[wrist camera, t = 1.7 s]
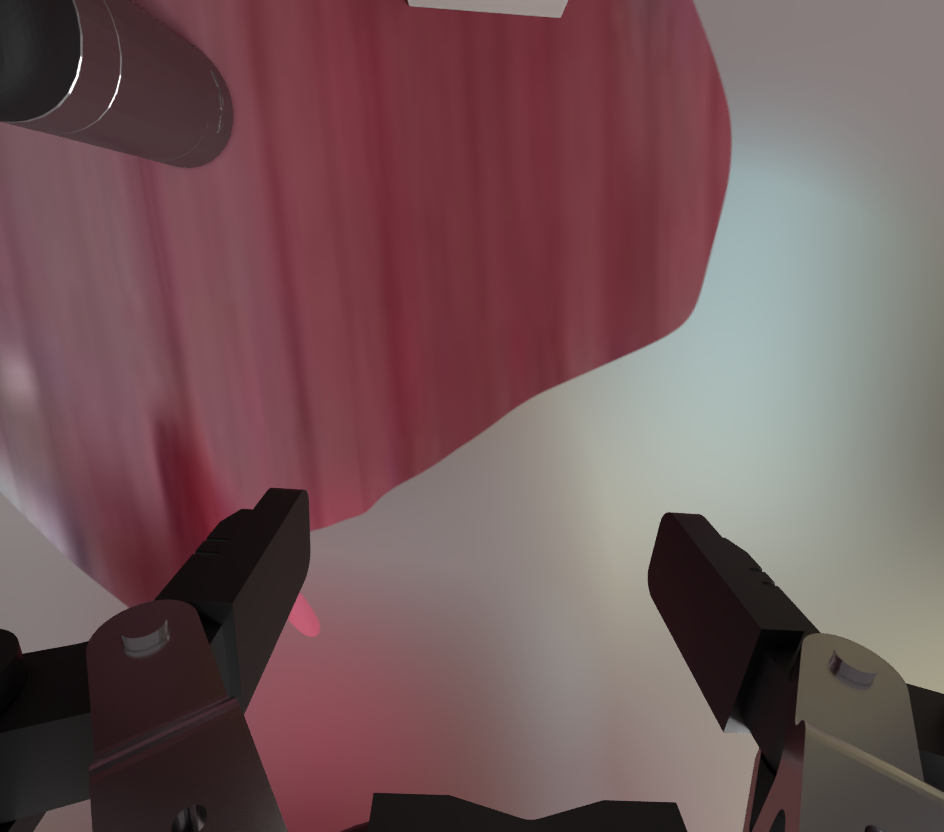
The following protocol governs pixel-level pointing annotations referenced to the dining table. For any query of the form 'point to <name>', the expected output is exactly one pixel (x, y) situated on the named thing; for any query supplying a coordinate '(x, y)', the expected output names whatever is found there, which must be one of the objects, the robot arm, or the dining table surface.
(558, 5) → the off-white column
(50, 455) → the dining table surface
